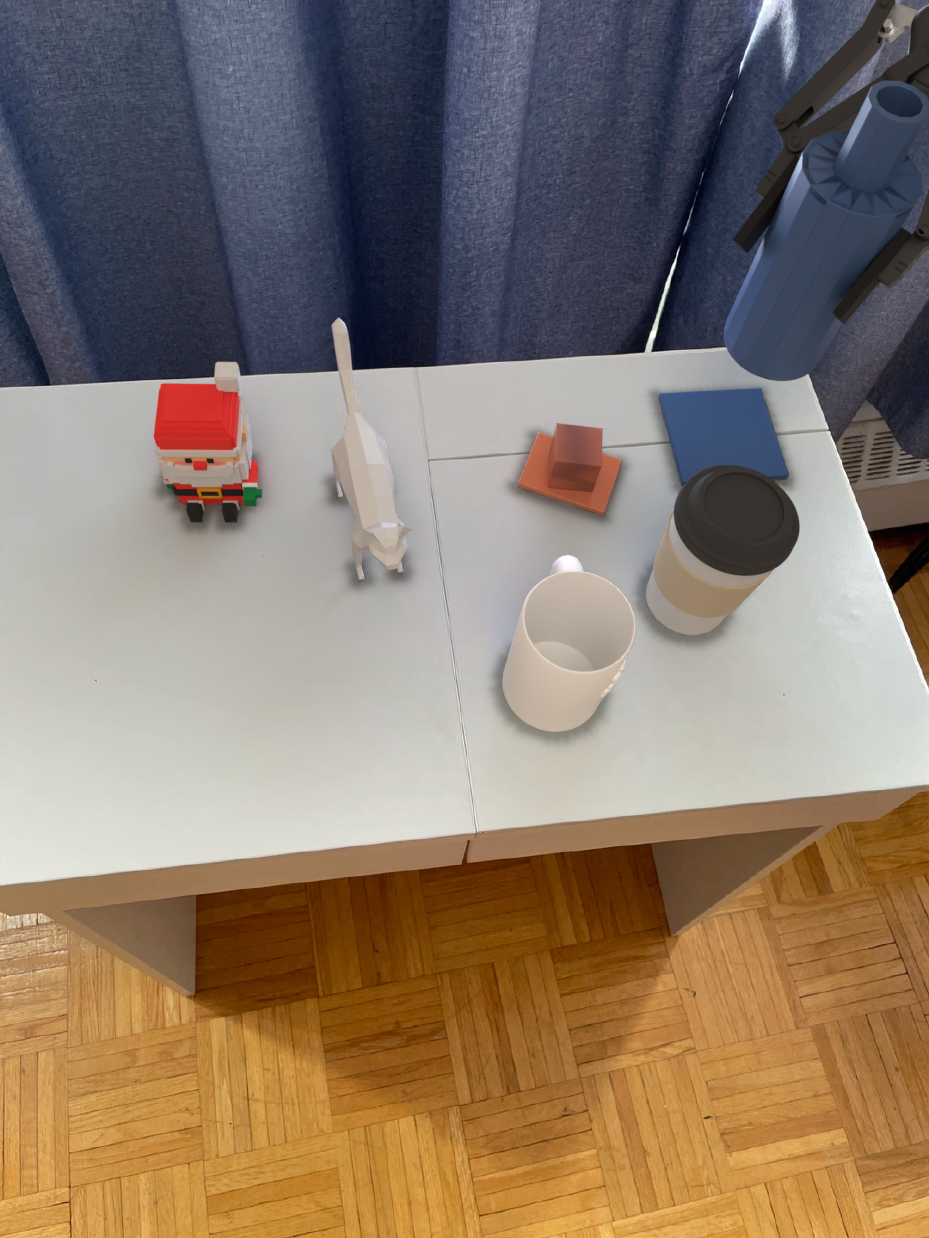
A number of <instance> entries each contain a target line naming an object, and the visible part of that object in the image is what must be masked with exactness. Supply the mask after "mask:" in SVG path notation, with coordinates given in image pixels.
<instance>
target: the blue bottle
mask: <svg viewBox="0 0 929 1238" xmlns="http://www.w3.org/2000/svg"><path fill="white" fill-rule="evenodd" d="M928 119H929V100H928V98H927V96H926V95H925V94H923V93H922V92H921V91H920V90H919V89H917V88H916V87H915V86H912V85H909V84H907V83H904V82H901V81H882V82H880V83H878V84H875V85H873V86H872V87H871V89H870V91H869V93H868V95H867V97H866V99H865V101H864V103H863V105H862V107H861V109H860V111H859V113H858V115H857V117H856V119H855V121H854V123H853V125H852V127H851V129H850V130H846V131H834V132H828V133H826V134H823V135H821V136H819V137H817V138H815V139H813V140H811V142H810V143H809V144H808V146H807V147H806V149H805V150H804V151H803V153H802V155H801V157H800V159H799V161H798V164H797V166H796V168H795V170H794V172H793V175H792V177H791V179H790V181H789V183H788V186H787V188H786V190H785V192H784V194H783V197H782V199H781V201H780V203H779V205H778V208H777V210H776V212H775V214H774V216H773V219H772V221H771V223H770V225H769V226H768V227H767V229H766V232H765V234H764V236H763V238H762V240H761V243H760V246H759V247H758V250H757V251H756V254H755V256H754V258H753V261H752V263H751V264H750V267H749V270H748V272H747V273H746V275H745V278H744V280H743V283H742V285H741V287H740V289H739V292H738V293H737V296H736V298H735V300H734V301H733V305H732V307H731V309H730V311H729V313H728V315H727V318H726V321H725V325H724V327H723V342H724V346H725V348H726V351H727V353H729V355H730V357H731V358H732V359H733V360H734V361H735V363H736V364H738V366H739V367H741V369H743V370H745V371H747V372H748V373H750V374H751V375H753V376H756V377H759V378H762V379H765V380H768V381H774V382H790V381H795V380H796V381H797V380H798V379H801V378H802V379H803V378H804V377H805V376H807V375H809V374H810V373H812V372H813V371H814V370H815V368H816V367H817V366H818V364H819V363H820V362H821V359H822V358H823V356H824V355H825V353H826V352H827V350H828V349H829V347H830V345H831V343H833V340H834V338H835V336H836V335H837V333H838V332H839V330H840V329H841V327H842V325H844V323H842V322H841V321H839V320H838V319H837V318H836V317H835V316H834V314H833V310H834V309H835V308H836V307H837V305H838V304H839V303H840V302H841V301H842V299H843V298H844V297H845V296H846V295H847V293H848V292H849V291H850V290H851V288H852V287H853V286H854V285H855V284H856V282H857V281H858V280H859V279H860V277H861V276H862V275H863V274H864V273H865V271H866V270H867V269H868V268H869V267H870V265H871V264H872V263H873V262H874V260H875V259H876V258H877V257H878V256H879V254H880V253H881V252H882V251H883V249H884V248H885V247H886V246H887V245H888V243H889V242H890V241H891V240H892V239H893V237H894V236H895V235H896V234H897V232H898V231H899V230H900V229H901V228H903V225H904V224H905V222H906V221H907V219H908V217H909V216H910V214H911V213H912V211H913V209H914V208H915V206H916V204H917V203H918V201H919V199H920V198H921V196H922V195H923V192H924V189H923V174H922V173H921V171H920V169H919V168H918V166H917V165H916V162H915V161H914V160H913V158H912V157H911V156H910V155H908V153H909V151H910V149H911V148H912V146H913V145H914V143H915V141H916V139H917V138H918V135H920V132H921V131H922V129H923V128H924V125H925V124H926V122H927V120H928Z"/></svg>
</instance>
